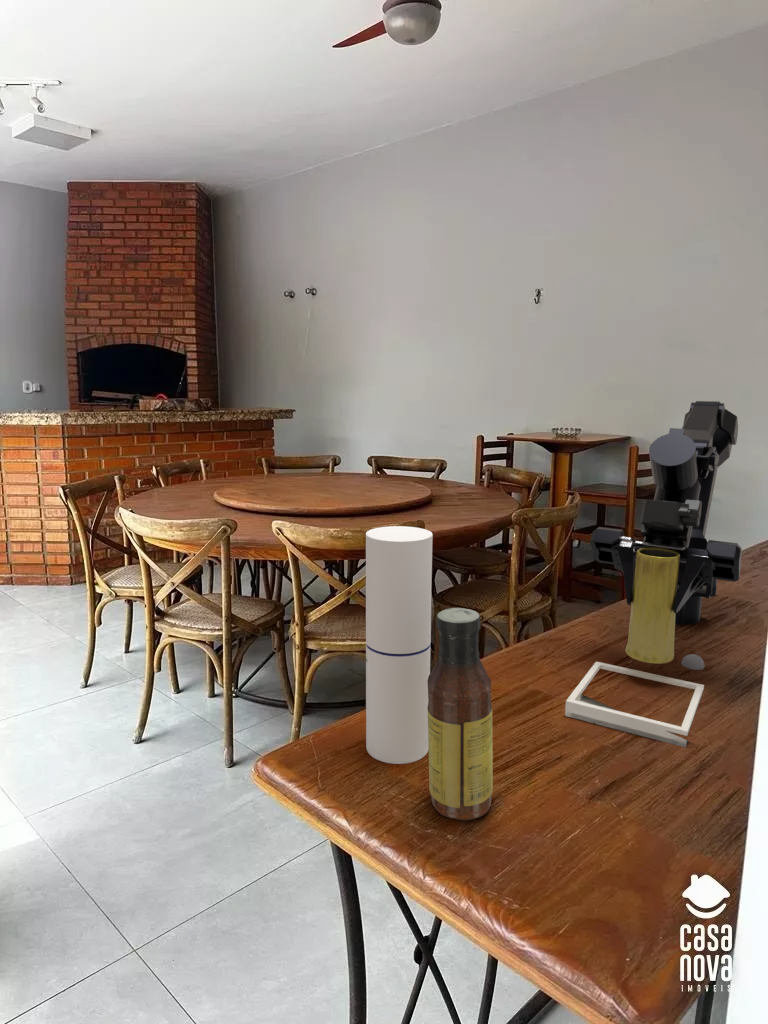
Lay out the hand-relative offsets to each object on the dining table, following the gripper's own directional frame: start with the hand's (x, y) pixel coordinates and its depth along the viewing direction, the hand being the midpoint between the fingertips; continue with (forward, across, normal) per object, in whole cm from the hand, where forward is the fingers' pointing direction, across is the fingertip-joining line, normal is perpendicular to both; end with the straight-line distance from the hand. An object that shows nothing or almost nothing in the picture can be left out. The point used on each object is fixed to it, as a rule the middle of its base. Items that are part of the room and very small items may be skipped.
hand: (651, 607), depth 90 cm
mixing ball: (+1, +5, +14) cm, 15 cm away
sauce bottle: (+34, -10, -17) cm, 39 cm away
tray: (+12, 0, +5) cm, 13 cm away
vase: (+4, 0, +6) cm, 7 cm away
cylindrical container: (+29, -21, -12) cm, 38 cm away
